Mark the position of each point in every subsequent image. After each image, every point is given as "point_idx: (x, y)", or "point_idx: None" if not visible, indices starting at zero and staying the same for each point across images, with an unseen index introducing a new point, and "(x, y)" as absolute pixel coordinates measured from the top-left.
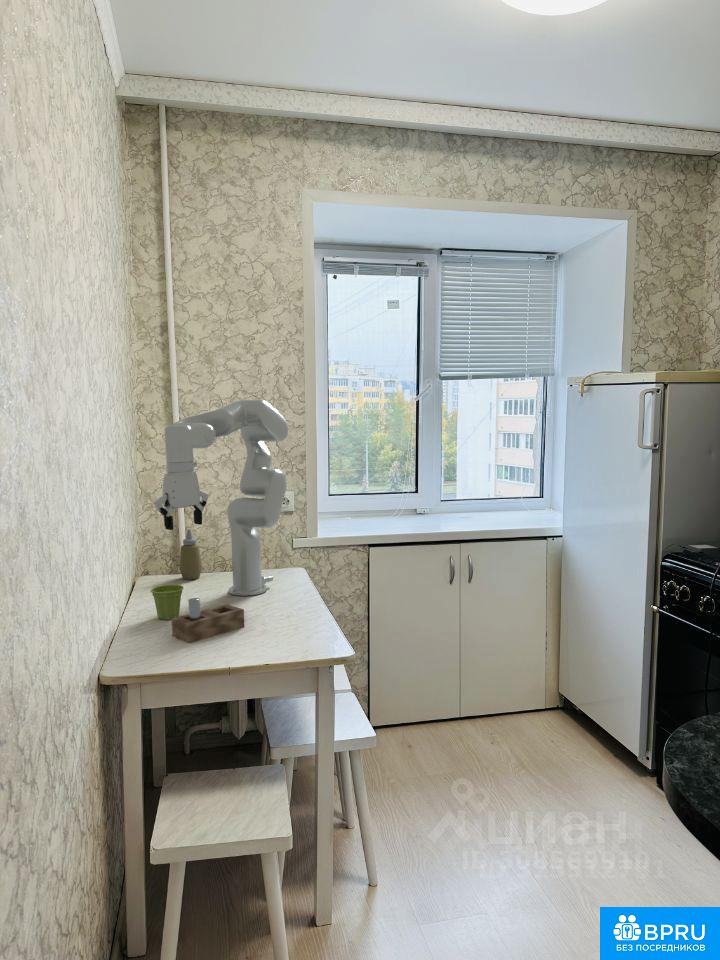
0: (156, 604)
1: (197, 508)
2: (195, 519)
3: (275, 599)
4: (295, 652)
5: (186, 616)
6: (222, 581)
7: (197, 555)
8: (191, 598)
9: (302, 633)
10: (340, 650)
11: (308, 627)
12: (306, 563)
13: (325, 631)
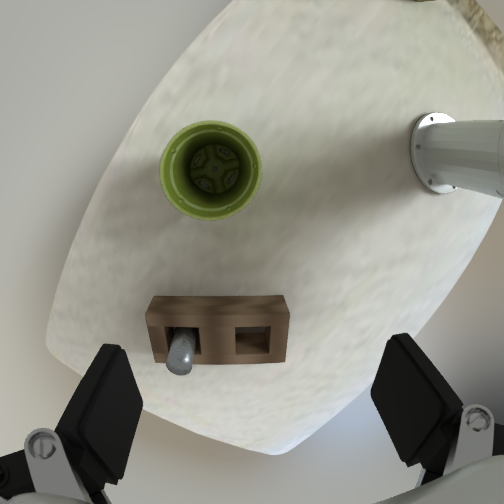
0: (178, 168)
1: (437, 460)
2: (397, 376)
3: (428, 245)
4: (249, 436)
5: (174, 324)
6: (444, 54)
7: None
8: (178, 356)
9: (307, 405)
10: (285, 450)
11: (332, 394)
12: None
13: (329, 413)
